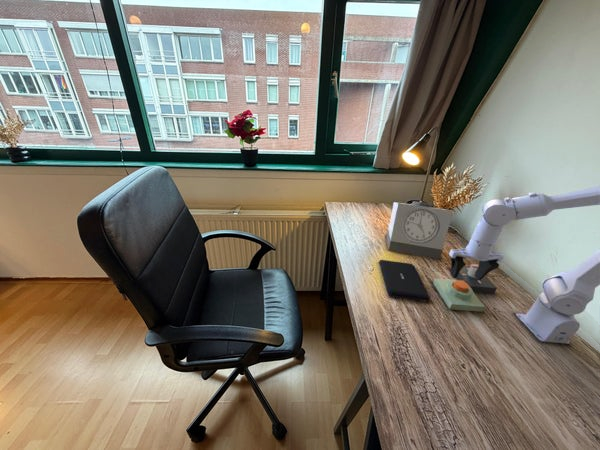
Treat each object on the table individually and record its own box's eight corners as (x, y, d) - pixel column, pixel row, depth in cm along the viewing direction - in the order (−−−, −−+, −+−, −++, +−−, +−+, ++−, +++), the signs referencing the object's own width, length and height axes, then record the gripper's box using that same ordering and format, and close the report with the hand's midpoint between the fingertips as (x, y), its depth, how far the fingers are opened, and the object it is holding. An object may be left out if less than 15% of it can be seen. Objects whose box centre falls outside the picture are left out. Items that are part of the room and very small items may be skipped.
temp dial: (476, 272, 89) (480, 263, 88) (482, 279, 86) (487, 270, 84) (465, 271, 89) (469, 262, 88) (471, 278, 86) (475, 269, 84)
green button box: (482, 311, 76) (487, 302, 74) (449, 309, 76) (454, 299, 74) (461, 285, 86) (465, 276, 84) (432, 283, 86) (436, 274, 85)
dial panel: (494, 293, 83) (497, 287, 82) (467, 291, 84) (470, 285, 82) (473, 271, 94) (476, 265, 93) (450, 269, 94) (452, 263, 93)
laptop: (421, 268, 93) (422, 264, 93) (431, 306, 76) (433, 301, 75) (378, 260, 97) (379, 255, 96) (378, 294, 80) (380, 289, 79)
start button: (469, 293, 78) (471, 289, 77) (456, 292, 78) (458, 287, 77) (462, 284, 81) (464, 280, 80) (450, 283, 81) (452, 279, 80)
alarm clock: (388, 250, 103) (400, 206, 94) (385, 232, 117) (396, 192, 108) (440, 259, 100) (458, 214, 90) (431, 240, 113) (446, 199, 104)
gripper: (499, 235, 74) (480, 270, 81) (450, 231, 74) (436, 267, 81) (516, 248, 68) (494, 285, 74) (463, 244, 68) (446, 281, 75)
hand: (465, 277), depth 77 cm, fingers open, 7 cm apart
